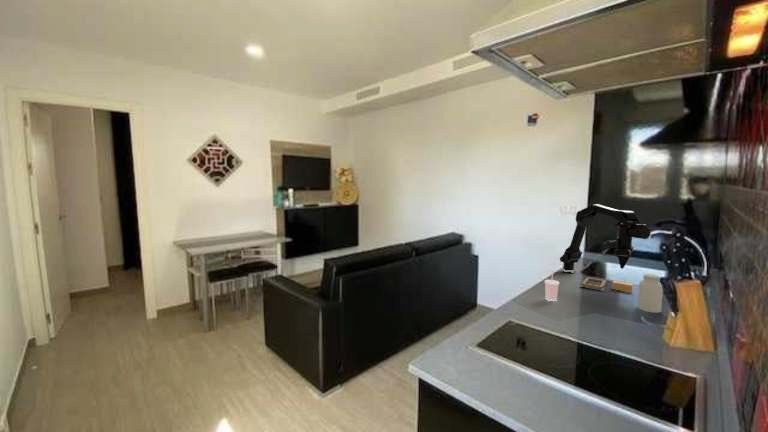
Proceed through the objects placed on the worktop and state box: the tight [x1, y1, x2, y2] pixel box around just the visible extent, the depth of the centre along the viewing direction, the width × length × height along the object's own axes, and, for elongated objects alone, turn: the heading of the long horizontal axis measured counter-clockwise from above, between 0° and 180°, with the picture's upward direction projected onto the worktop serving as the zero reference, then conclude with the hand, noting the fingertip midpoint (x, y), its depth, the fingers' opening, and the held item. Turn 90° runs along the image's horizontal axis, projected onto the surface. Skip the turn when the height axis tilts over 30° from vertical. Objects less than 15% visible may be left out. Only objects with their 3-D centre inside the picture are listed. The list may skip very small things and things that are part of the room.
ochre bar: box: [611, 280, 634, 294], centre depth 166 cm, size 8×4×4 cm, turn 49°
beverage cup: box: [544, 270, 560, 303], centre depth 152 cm, size 6×6×14 cm
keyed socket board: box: [581, 277, 607, 292], centre depth 173 cm, size 16×10×2 cm, turn 139°
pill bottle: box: [637, 273, 664, 314], centre depth 140 cm, size 8×8×15 cm
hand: (622, 266), depth 165 cm, fingers open, 9 cm apart
